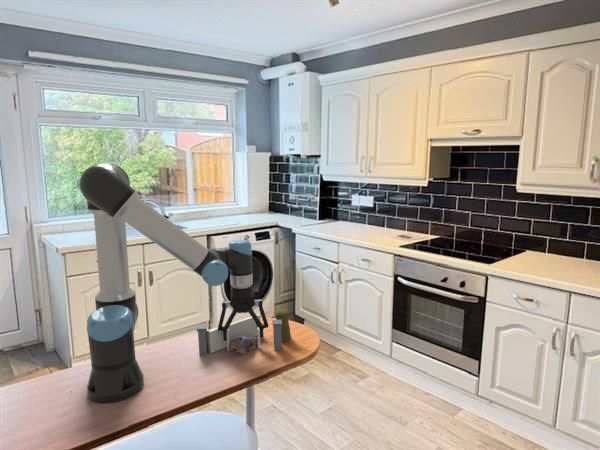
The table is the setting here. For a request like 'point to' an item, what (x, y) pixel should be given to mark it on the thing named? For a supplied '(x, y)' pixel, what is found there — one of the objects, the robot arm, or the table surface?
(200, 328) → the hinge post
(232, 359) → the table surface
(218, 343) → the gate
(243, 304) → the robot arm
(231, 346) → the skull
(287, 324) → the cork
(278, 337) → the post
